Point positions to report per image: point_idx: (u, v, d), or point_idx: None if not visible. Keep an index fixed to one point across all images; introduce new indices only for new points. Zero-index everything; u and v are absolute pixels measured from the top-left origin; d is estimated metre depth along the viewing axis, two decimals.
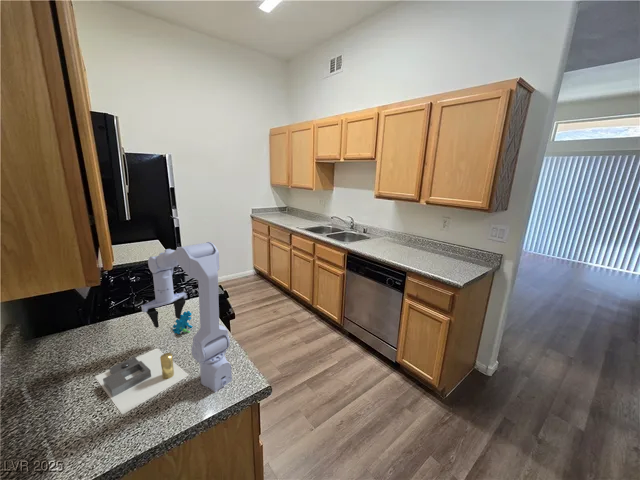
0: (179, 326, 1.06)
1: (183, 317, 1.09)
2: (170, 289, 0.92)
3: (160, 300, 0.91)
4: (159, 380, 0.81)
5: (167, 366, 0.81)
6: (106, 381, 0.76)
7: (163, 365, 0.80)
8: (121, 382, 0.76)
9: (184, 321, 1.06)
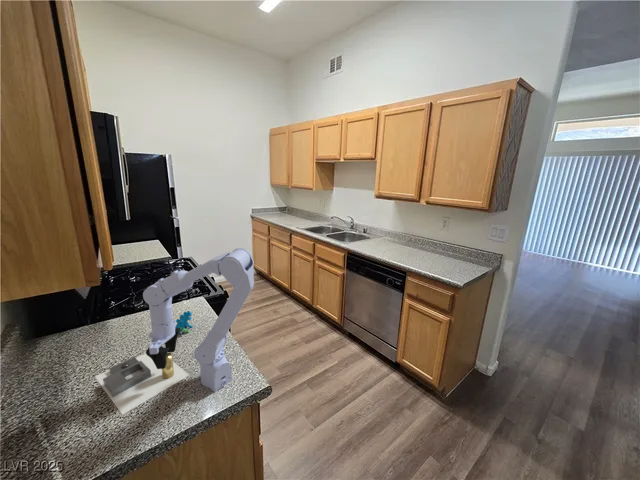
0: (179, 326, 1.06)
1: (183, 317, 1.09)
2: None
3: (166, 335, 0.77)
4: (159, 380, 0.81)
5: (167, 366, 0.81)
6: (106, 381, 0.76)
7: None
8: (121, 382, 0.76)
9: (184, 321, 1.06)
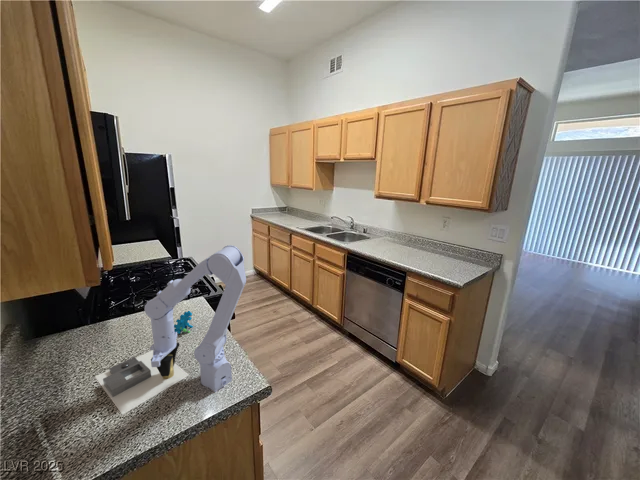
0: (179, 326, 1.06)
1: (184, 317, 1.09)
2: (174, 331, 0.81)
3: (167, 347, 0.78)
4: (159, 380, 0.81)
5: None
6: (106, 381, 0.76)
7: None
8: (121, 382, 0.76)
9: (184, 321, 1.06)
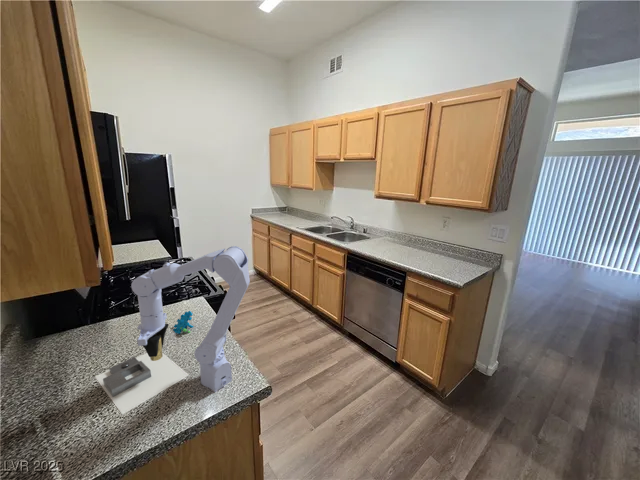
0: (180, 326, 1.06)
1: (184, 317, 1.09)
2: (162, 310, 0.79)
3: (155, 326, 0.76)
4: (159, 380, 0.81)
5: None
6: (106, 381, 0.76)
7: None
8: (121, 382, 0.76)
9: (185, 321, 1.06)
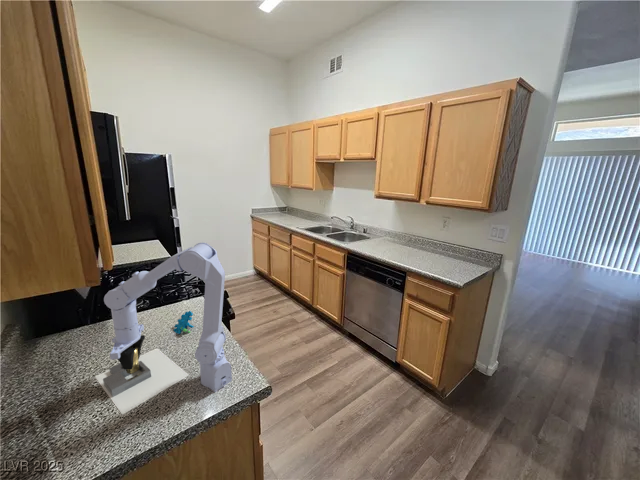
0: (180, 326, 1.06)
1: (184, 317, 1.09)
2: (137, 322, 0.78)
3: (129, 339, 0.76)
4: (159, 380, 0.81)
5: None
6: (106, 381, 0.76)
7: None
8: (121, 382, 0.76)
9: (185, 321, 1.06)
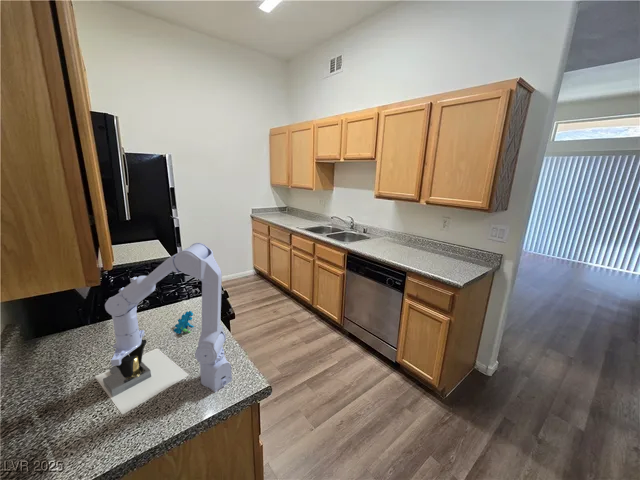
0: (180, 326, 1.06)
1: (185, 317, 1.09)
2: (138, 328, 0.79)
3: (130, 345, 0.76)
4: (159, 380, 0.81)
5: None
6: (106, 381, 0.76)
7: None
8: (121, 382, 0.76)
9: (185, 321, 1.06)
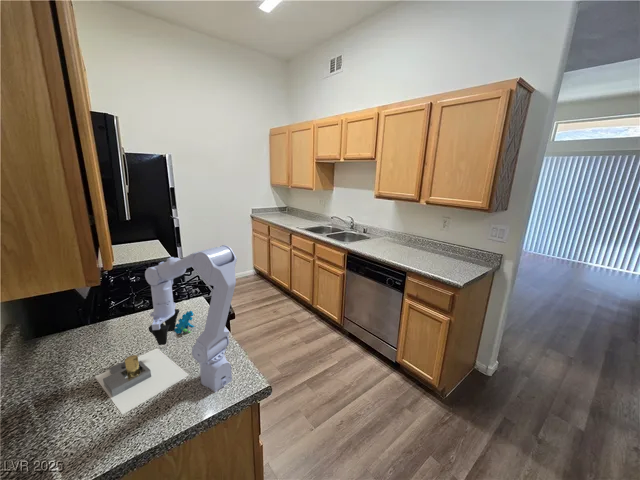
0: (181, 326, 1.06)
1: (185, 317, 1.09)
2: (172, 299, 0.87)
3: (166, 313, 0.84)
4: (159, 380, 0.81)
5: (132, 369, 0.79)
6: (106, 381, 0.76)
7: (128, 368, 0.78)
8: (121, 382, 0.76)
9: (186, 321, 1.06)
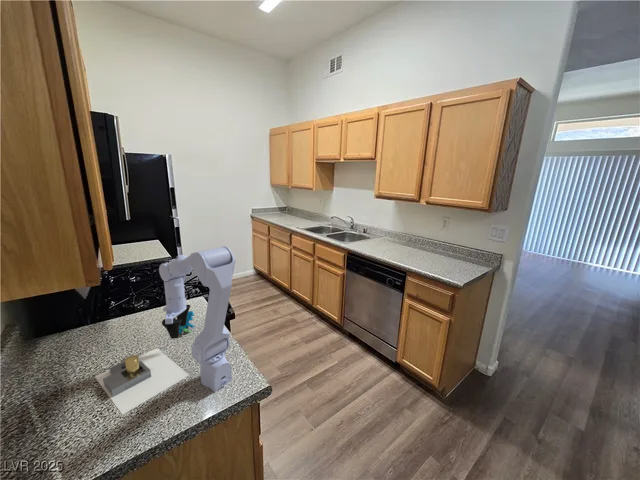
0: (181, 326, 1.06)
1: None
2: (184, 294, 0.90)
3: (179, 308, 0.88)
4: (159, 380, 0.81)
5: (132, 369, 0.79)
6: (106, 381, 0.76)
7: (128, 368, 0.78)
8: (121, 382, 0.76)
9: (186, 321, 1.06)
